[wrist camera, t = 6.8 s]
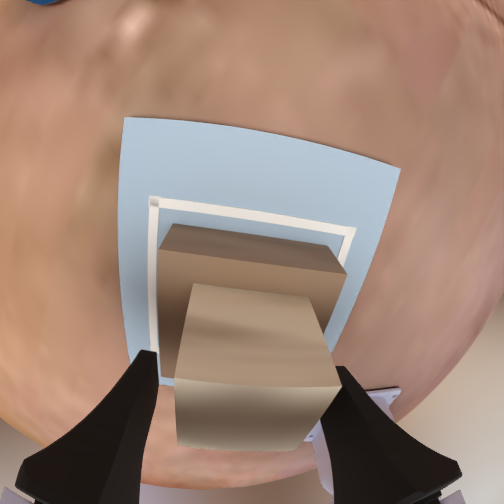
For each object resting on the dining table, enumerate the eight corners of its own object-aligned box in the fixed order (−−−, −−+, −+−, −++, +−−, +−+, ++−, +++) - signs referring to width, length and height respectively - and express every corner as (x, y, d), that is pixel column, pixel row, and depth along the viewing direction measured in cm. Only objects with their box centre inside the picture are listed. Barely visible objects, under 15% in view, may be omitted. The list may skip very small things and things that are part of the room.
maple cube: (281, 370, 14) (295, 450, 10) (188, 362, 13) (177, 445, 9) (308, 296, 12) (342, 386, 8) (193, 282, 11) (173, 377, 7)
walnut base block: (290, 353, 18) (297, 388, 15) (169, 341, 17) (161, 376, 14) (327, 245, 14) (347, 274, 12) (173, 223, 13) (158, 249, 11)
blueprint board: (306, 386, 21) (308, 396, 20) (135, 369, 19) (132, 379, 18) (391, 165, 14) (401, 169, 13) (131, 117, 12) (123, 117, 11)
